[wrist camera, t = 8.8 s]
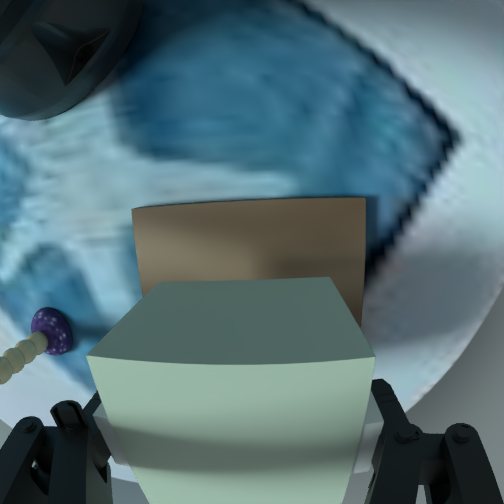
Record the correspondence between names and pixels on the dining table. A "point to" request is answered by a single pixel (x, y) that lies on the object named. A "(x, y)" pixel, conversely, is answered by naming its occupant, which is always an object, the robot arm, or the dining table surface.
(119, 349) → the sage block
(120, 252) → the dining table surface
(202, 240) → the walnut board
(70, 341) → the toy lamp
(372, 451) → the robot arm
